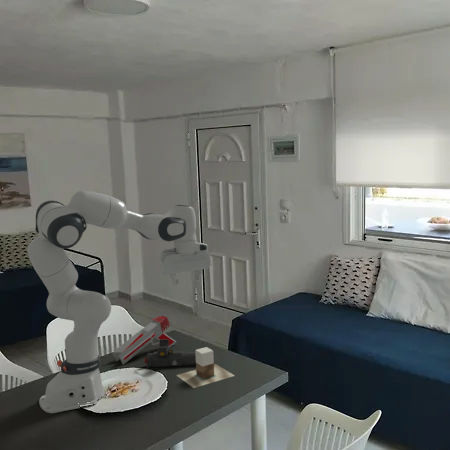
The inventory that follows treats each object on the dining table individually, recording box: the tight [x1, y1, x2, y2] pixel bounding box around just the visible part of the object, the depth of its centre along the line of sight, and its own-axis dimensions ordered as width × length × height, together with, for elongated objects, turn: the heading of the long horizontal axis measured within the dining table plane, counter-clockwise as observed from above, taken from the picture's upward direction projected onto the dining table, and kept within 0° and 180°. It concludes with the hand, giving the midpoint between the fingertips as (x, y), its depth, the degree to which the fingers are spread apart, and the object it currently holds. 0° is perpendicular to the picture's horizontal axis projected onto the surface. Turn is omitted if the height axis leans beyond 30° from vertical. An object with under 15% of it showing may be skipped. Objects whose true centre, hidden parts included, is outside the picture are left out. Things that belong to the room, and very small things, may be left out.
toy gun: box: [111, 315, 177, 365], centre depth 225 cm, size 7×28×15 cm, turn 134°
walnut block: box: [195, 363, 215, 379], centre depth 198 cm, size 5×5×5 cm
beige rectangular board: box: [176, 363, 235, 389], centre depth 198 cm, size 18×14×1 cm
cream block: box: [194, 346, 215, 366], centre depth 197 cm, size 5×5×5 cm
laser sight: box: [144, 339, 196, 369], centre depth 210 cm, size 10×22×10 cm, turn 91°
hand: (186, 282), depth 198 cm, fingers open, 8 cm apart
